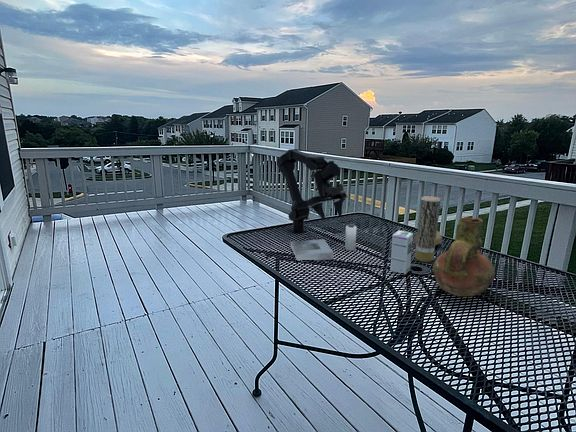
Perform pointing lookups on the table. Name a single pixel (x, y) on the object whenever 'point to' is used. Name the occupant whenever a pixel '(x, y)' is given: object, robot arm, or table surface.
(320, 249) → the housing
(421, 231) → the paper tube
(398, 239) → the syrup box
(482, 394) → the table surface
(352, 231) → the plug
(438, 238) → the bread roll
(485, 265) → the ceramic vessel
